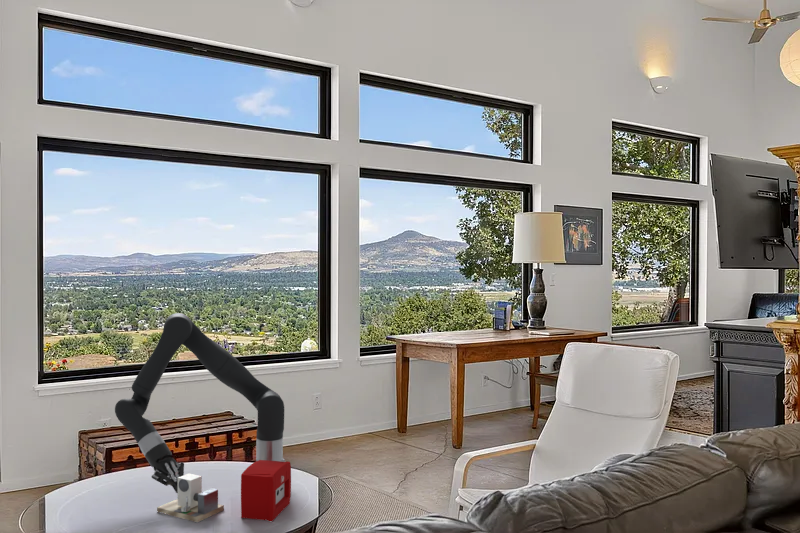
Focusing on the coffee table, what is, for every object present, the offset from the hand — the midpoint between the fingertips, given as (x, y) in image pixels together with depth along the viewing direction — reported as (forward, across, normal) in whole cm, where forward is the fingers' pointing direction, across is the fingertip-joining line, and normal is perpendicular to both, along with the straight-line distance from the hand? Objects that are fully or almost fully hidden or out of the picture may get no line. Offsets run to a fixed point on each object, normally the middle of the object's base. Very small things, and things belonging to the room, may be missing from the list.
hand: (182, 492), depth 241 cm
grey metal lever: (+7, -5, -2) cm, 9 cm away
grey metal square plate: (+10, 0, -5) cm, 12 cm away
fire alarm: (+21, +12, -14) cm, 28 cm away
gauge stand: (+6, 0, +1) cm, 6 cm away
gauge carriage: (+5, -2, -1) cm, 6 cm away
